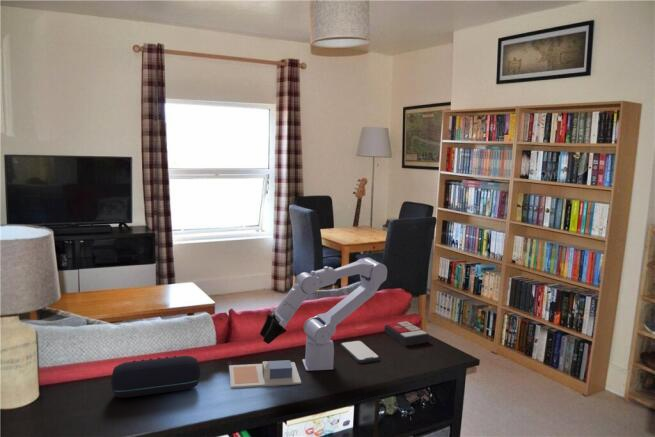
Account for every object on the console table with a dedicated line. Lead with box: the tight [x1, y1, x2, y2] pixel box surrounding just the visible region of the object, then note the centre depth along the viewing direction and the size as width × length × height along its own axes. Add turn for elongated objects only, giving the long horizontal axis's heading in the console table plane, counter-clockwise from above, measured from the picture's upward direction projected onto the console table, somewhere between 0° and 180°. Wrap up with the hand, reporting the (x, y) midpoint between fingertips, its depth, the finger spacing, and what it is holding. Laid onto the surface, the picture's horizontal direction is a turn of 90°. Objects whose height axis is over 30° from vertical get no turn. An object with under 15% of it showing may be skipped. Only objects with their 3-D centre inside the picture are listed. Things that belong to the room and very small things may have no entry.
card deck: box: [262, 359, 292, 379], centre depth 169 cm, size 9×6×3 cm, turn 103°
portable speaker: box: [110, 355, 201, 398], centre depth 156 cm, size 25×10×10 cm, turn 111°
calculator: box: [384, 321, 429, 347], centre depth 206 cm, size 11×4×15 cm
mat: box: [228, 361, 302, 389], centre depth 169 cm, size 22×14×1 cm, turn 103°
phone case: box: [340, 340, 380, 364], centre depth 190 cm, size 9×2×16 cm
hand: (263, 339), depth 167 cm, fingers open, 7 cm apart
